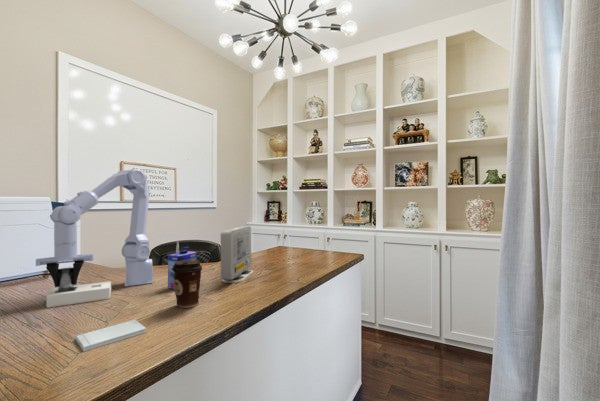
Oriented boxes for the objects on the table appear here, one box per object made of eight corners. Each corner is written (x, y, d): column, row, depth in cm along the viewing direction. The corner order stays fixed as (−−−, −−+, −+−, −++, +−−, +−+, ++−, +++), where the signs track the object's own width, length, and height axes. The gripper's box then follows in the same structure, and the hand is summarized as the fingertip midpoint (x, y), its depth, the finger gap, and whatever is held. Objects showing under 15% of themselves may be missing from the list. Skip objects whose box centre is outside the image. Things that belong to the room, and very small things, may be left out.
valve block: (111, 290, 106) (111, 281, 106) (109, 298, 98) (109, 287, 98) (53, 298, 99) (53, 288, 99) (46, 307, 90) (46, 296, 90)
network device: (238, 269, 138) (238, 226, 138) (257, 269, 136) (256, 226, 136) (215, 285, 112) (214, 231, 112) (237, 285, 111) (237, 231, 111)
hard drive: (134, 319, 77) (75, 334, 68) (146, 327, 72) (83, 346, 63) (134, 325, 77) (75, 341, 68) (146, 334, 72) (83, 354, 63)
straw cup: (178, 290, 106) (178, 249, 106) (166, 288, 108) (166, 248, 108) (197, 283, 115) (197, 245, 115) (186, 281, 117) (186, 244, 117)
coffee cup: (173, 311, 85) (172, 266, 85) (170, 303, 92) (170, 261, 92) (204, 306, 89) (204, 262, 89) (200, 298, 96) (199, 258, 97)
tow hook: (178, 264, 153) (168, 267, 144) (179, 239, 154) (168, 240, 145) (194, 264, 152) (184, 268, 143) (194, 239, 153) (184, 240, 144)
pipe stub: (75, 291, 99) (75, 266, 99) (72, 294, 95) (72, 268, 96) (60, 293, 97) (59, 268, 97) (56, 296, 94) (56, 270, 94)
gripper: (94, 240, 103) (94, 279, 103) (39, 243, 96) (39, 285, 96) (92, 242, 97) (92, 284, 97) (33, 246, 90) (34, 291, 90)
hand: (66, 285), depth 96 cm, fingers closed on pipe stub, 4 cm apart
